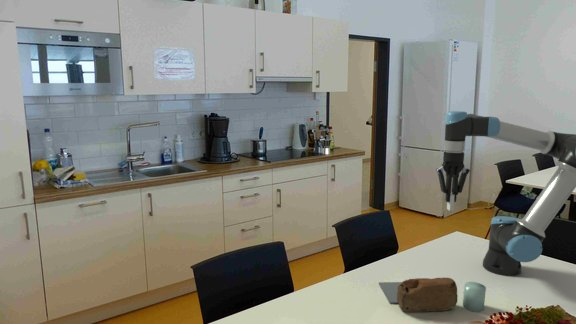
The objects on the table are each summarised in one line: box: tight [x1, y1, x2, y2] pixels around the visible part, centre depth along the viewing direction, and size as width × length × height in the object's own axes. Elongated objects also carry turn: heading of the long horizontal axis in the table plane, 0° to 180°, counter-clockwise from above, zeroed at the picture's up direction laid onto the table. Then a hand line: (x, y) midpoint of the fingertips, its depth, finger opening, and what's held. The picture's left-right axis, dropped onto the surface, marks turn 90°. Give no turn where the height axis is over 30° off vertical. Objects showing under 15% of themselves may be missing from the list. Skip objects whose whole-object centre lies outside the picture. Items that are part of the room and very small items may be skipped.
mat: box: [378, 281, 403, 305], centre depth 164 cm, size 17×16×1 cm
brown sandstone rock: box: [397, 277, 459, 313], centre depth 152 cm, size 11×8×20 cm
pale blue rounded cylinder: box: [462, 281, 487, 313], centre depth 154 cm, size 7×7×8 cm
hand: (450, 209), depth 171 cm, fingers closed
